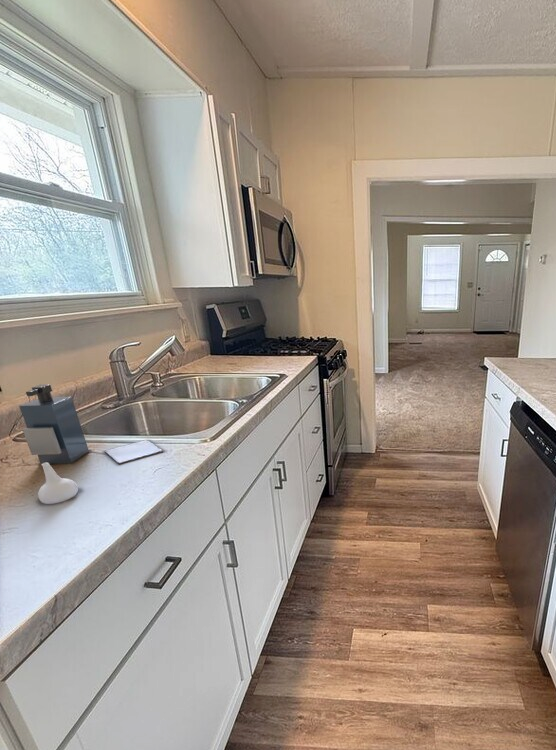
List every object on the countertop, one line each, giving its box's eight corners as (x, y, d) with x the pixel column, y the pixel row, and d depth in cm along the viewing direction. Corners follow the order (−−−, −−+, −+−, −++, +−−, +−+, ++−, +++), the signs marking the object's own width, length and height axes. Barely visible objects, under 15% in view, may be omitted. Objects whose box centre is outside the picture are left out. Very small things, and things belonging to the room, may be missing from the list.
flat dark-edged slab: (105, 454, 102) (104, 450, 101) (147, 443, 109) (146, 439, 108) (119, 466, 95) (118, 462, 95) (163, 454, 102) (163, 450, 101)
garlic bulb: (71, 505, 79) (58, 468, 76) (34, 508, 78) (19, 471, 75) (85, 489, 85) (73, 455, 82) (51, 493, 83) (38, 458, 80)
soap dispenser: (70, 466, 95) (44, 390, 88) (39, 467, 95) (10, 390, 88) (89, 453, 102) (67, 381, 95) (61, 454, 102) (36, 382, 95)
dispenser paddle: (58, 454, 92) (49, 428, 90) (31, 455, 92) (21, 429, 90) (61, 452, 93) (52, 426, 91) (34, 453, 93) (25, 427, 91)
